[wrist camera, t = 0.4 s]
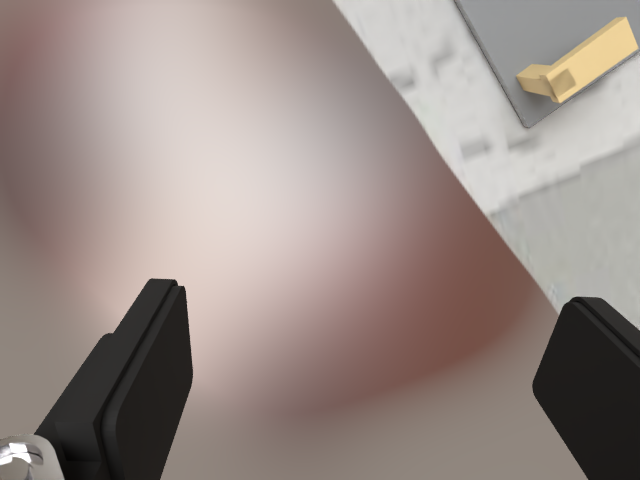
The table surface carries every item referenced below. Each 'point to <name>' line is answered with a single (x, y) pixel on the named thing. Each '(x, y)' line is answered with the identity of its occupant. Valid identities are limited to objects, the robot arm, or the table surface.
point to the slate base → (552, 46)
